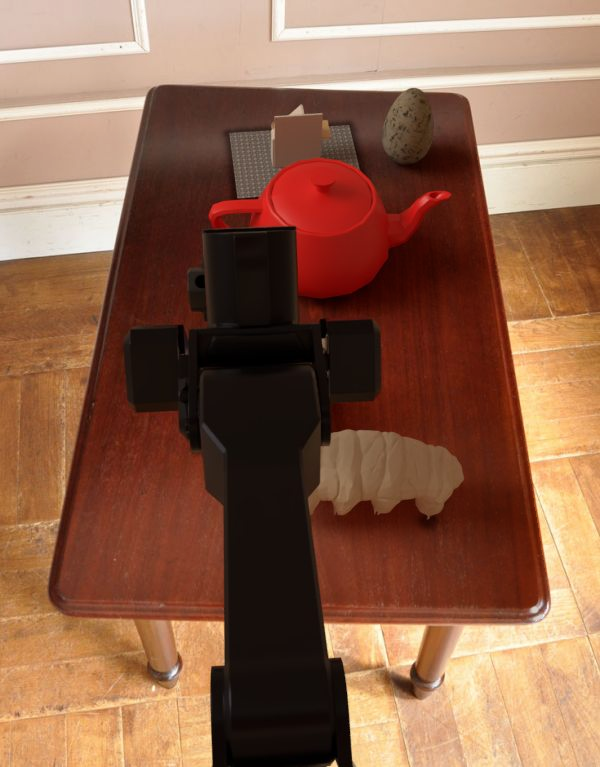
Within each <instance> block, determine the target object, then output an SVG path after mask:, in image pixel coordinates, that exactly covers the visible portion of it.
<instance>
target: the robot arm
mask: <svg viewBox="0 0 600 767" xmlns="http://www.w3.org/2000/svg"><path fill="white" fill-rule="evenodd" d="M201 238H202V256H203V257H201V258H200V263H201V264H200V266H198V267H189V268H188V270H187V274H186V278H187V295H188V303H189V308H190V311H191V312H192V313H202V314H203V316H202V317H203V322H204V323H206V324H207V326H206V327H194V328H190V327H189V328H188V335H187V332H186V329H185V326H184V324H152V325H136V326H135V325H133V326H132V327H131V328H130V329H129V331H128V332H127V333H126V334H125V335H124V336H123V343H122V349H123V361H124V376H125V388H126V400H127V403H128V406H129V407H130V408H131V409H132V410H133V411H134V412H135V413H136V414H140V413H159V412H161V413H162V412H178V429H179V430H178V431H179V433H180V435H182V436H183V437H184V438H185V439H186V441H187V442H188V443H189V445H190V446H189V447H190V452H191V454H201V456H202V466H203V477H204V488H205V491H206V492H207V493H208V494H209V495H210V496H211V497H213V498H214V500H216V501H217V502H218V503H219V504H220V505H222V506H223V510H222V512H223V516H222V517H223V518H222V519H223V648H224V649H223V650H224V652H223V653H224V656H223V658H224V662H223V664H221V665H211V666H210V678H209V679H210V680H209V682H210V683H209V698H210V702H209V704H210V738H211V741H210V742H211V764H212V765H211V767H331V766H332V765H333V763H334V762H335V763H336V765H337V767H357V765H356V764H355V762H354V760H353V751H352V750H353V748H352V736H351V721H350V710H349V709H350V707H349V694H348V687H347V679H346V670H345V666H344V662H343V659H342V656H341V657H338V656H337V657H329V652H328V651H329V650H328V643H327V634H326V628H325V620H324V612H323V604H322V603H323V602H322V596H321V589H320V581H319V580H320V579H319V574H318V567H317V566H318V565H317V558H316V549H315V543H314V542H315V541H314V535H313V534H314V533H313V527H312V519H311V516H310V511H309V503H308V497H309V496H310V495H311V494H312V493H313V492H314V490H315V489H316V488H317V487H318V486H319V484H320V461H321V446H330V443H331V433H332V414H331V410H332V409H331V404H346V403H365V402H374V401H376V399H377V398H378V397H379V395H381V392H382V334H381V328H380V325H379V324H378V323H377V322H376V321H375V320H374V319H373V318H372V317H370V316H369V315H365V316H364V315H363V316H342V317H329V318H328V317H325V318H319V321H318V322H305V323H304V322H303V323H300V322H301V320H300V296H299V290H298V262H297V234H296V226H265V227H249V226H246V227H245V226H243V227H242V226H240V227H238V226H237V227H231V228H216V229H213V228H205V229H204V228H203V229H201Z"/></svg>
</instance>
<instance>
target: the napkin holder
mask: <svg viewBox="0 0 600 767" xmlns="http://www.w3.org/2000/svg"><path fill="white" fill-rule="evenodd" d="M323 117H324V114H323V112H320V111H318V112H317V113H305V110H304V105H303V104H299V106H297V107H296V108H295V109H294V110H293V111H292V112H291V113H290V114H286V115H275V116H274V121H272V122H271V123H270V124H271V125H270V126H271V129H269V131H270V159H271V165H272V166H273V167H275V168H285V167H287V166H289V165H291V164H293V163H295V162H297V161H301V160H308V159H315V158H321V155H322V142H325V141H331V140H332V134H331V129H330V126H329V120H328V119H324V118H323Z"/></svg>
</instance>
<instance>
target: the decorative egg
mask: <svg viewBox="0 0 600 767" xmlns="http://www.w3.org/2000/svg"><path fill="white" fill-rule="evenodd" d="M434 125H435V122H434V115H433V109H432V105H431V103H430V100H429V98H428V97H427V95H426V94H425V92H424V91H423V90H422V89H420V88H418V87H410V88H407V89H406V90H404V91H403V92H401V93H400V94H399V95H398V96H397V98H395V100H394V102H393V103H392V105H391V107H390V108H389V110H388V113H387V115H386V117H385V120H384V123H383V126H382V133H381V141H382V147H383V149H384V152H385V154H386V155H387V157H388V158H389V159H390V160H391V161H392V162H394V163H396V164H398V165H402V166H409V165H414V164H416V163H418V162H420V161H421V160H422V159H423V158H424V157H425V156H426V155H427V154H428V152H429V150H430V148H431V146H432V143H433V139H434V132H435V130H434V129H435V126H434Z"/></svg>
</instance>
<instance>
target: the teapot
mask: <svg viewBox="0 0 600 767" xmlns="http://www.w3.org/2000/svg"><path fill="white" fill-rule="evenodd" d="M451 196H452V193H451V192H449V191H447V190H433V191H428V192H426V193H424V194H423V195H421V196H420V197H419V198H417V199H416V200H415V201H414V202H413V203H412V204H411V205H410V207H408V208H406V209H405V210H404V211H401V212H400V213H387V211H386V207H385V205H384V203H383V201H382V198H381V196H380V194H379V192H378V190H377V188H376V187H375V184H373V182H372V180H371V179H370V178H369V177H368V176H367V175H365V174H364V173H363V172H362V171H361V169H360V170H359V169H358V168H356V167H354V166H351V165H349V164H347V163H344V162H342V161H340V160H332V159H324V158H315V159H308V160H301V161H297V162H295V163H293V164H291V165H289V166H287V167H285V168H283V169H281V170H280V171H279V172H278V173H277V175H276V176H275V177H274V178H273V179H272V180H271V181H270V183H269V184H268V185H267V187H266V188H265V189H264V191H263V192H262V194H261V195H260V197H257V199H255V198H252V199H250V198H249V199H232V200H222V201H219V202H217V203H214V204H212V206H211V208H210V210H209V213H208V215H207V216H208V219H209V221H210V224H211V227H212V229H216V228H232V227H231V226H230V225H229V224H227V223H226V222H225V221H224V220H223V219H222V217H223V216H226V215H235V214H236V215H237V214H251V215H250V216H251V217H250V220H249V225H248V227H265V226H296V234H297V262H298V290H299V297H306V298H313V299H328V298H333V297H339V296H344V295H345V296H346V295H351V294H352V293H354V292H356V291H357V290H359V289H361V288H363V287H365V286H367V285H368V284H370V283H372V281H373V280H374V279H375V277H376V276H377V274H378V273H379V271H380V270H381V269H382V267H383V266H384V264H385V263H386V261H387V260H388V258H389V249H392V248H394V247H398V246H401V245H403V244H405V243H407V242H408V241H409V240H410V238H411V237H412V236H413V234H415V232H416V231H417V229H419V227H420V225H421V223H422V221H423V220H424V218H425V217H426V214H427V212H429V211H430V210H432V209H434V208H435V207H436V206H438V205H439V204H441V203H442V202H444V201H446V200H448V199H449V198H450V197H451Z"/></svg>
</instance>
